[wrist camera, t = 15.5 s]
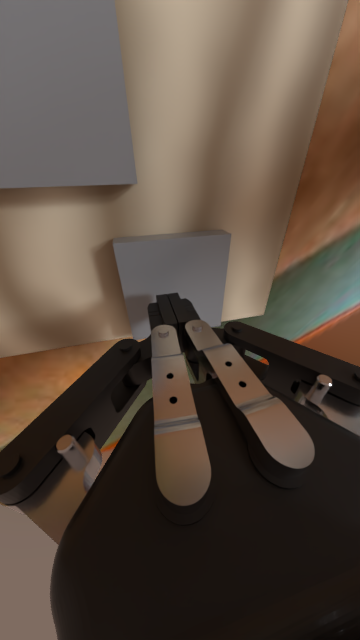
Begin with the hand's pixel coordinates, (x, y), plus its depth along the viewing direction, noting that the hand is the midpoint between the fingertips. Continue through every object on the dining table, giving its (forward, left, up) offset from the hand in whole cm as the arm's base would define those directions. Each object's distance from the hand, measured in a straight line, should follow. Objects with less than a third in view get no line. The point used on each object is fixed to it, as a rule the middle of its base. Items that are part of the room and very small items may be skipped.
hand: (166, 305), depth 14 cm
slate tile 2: (-5, 0, -2) cm, 6 cm away
